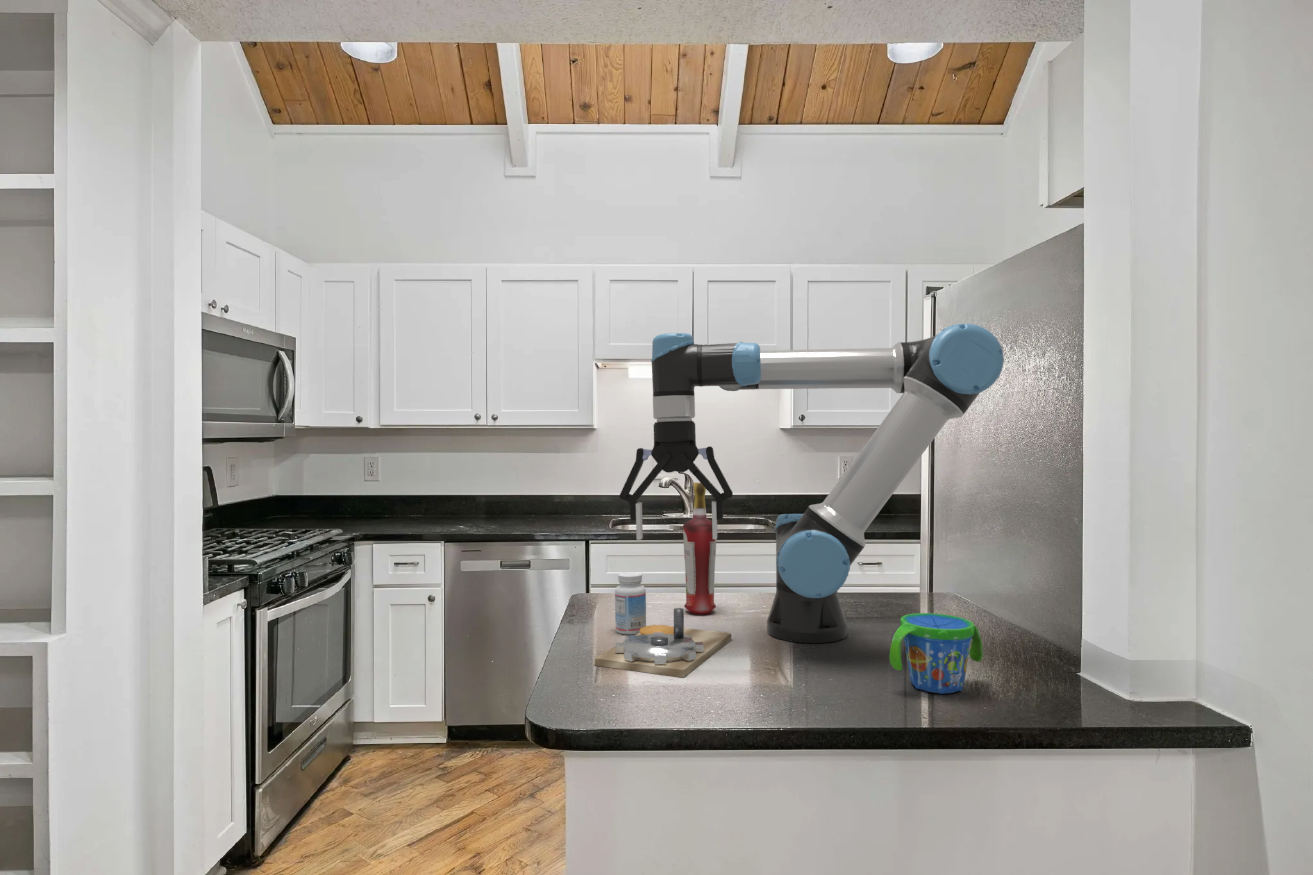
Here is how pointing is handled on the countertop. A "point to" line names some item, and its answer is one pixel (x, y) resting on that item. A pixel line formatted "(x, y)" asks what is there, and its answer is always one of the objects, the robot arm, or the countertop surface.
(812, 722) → the countertop surface
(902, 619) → the snack cup
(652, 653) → the sprocket disc
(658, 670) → the board
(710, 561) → the liquor
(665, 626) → the seat pad
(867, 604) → the countertop surface
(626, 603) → the pill bottle
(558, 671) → the countertop surface
